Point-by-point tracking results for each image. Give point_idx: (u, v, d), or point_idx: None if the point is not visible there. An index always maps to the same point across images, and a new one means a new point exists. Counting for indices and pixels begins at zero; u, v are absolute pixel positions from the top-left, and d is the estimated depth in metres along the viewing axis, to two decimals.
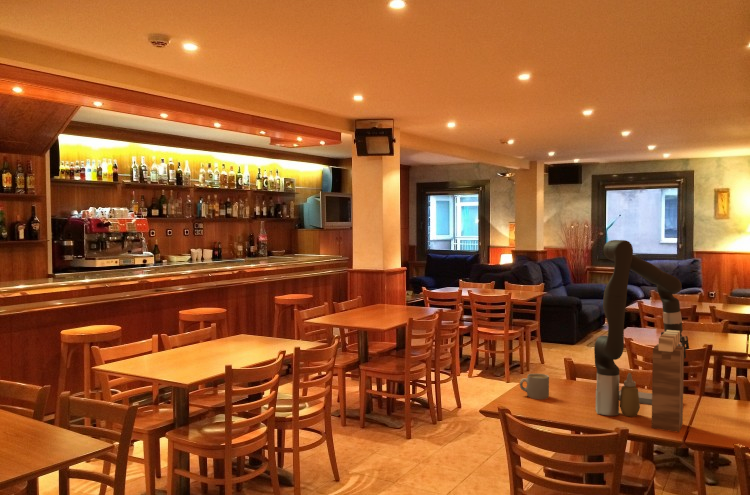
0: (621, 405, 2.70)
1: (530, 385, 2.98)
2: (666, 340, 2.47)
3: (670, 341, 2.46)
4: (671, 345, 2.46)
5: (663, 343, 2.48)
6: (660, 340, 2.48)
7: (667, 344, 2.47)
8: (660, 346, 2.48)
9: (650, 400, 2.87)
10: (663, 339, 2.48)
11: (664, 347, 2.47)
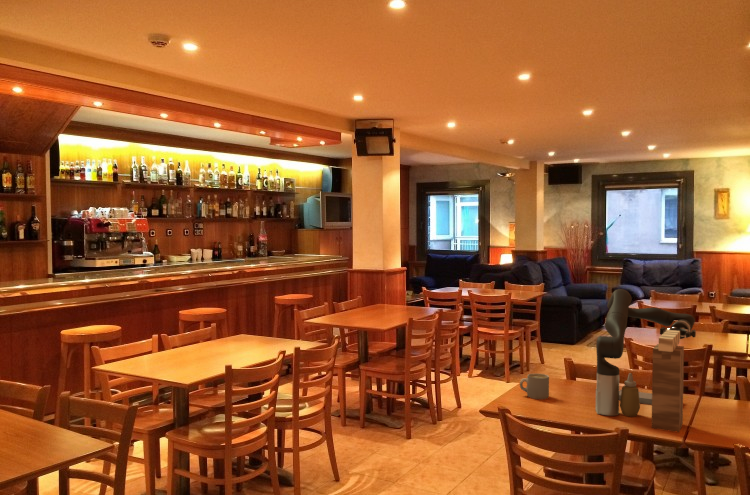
0: (621, 405, 2.70)
1: (530, 385, 2.98)
2: (666, 340, 2.47)
3: (670, 341, 2.46)
4: (671, 345, 2.46)
5: (663, 343, 2.48)
6: (660, 340, 2.48)
7: (667, 344, 2.47)
8: (660, 346, 2.48)
9: (650, 400, 2.87)
10: (663, 339, 2.48)
11: (664, 347, 2.47)
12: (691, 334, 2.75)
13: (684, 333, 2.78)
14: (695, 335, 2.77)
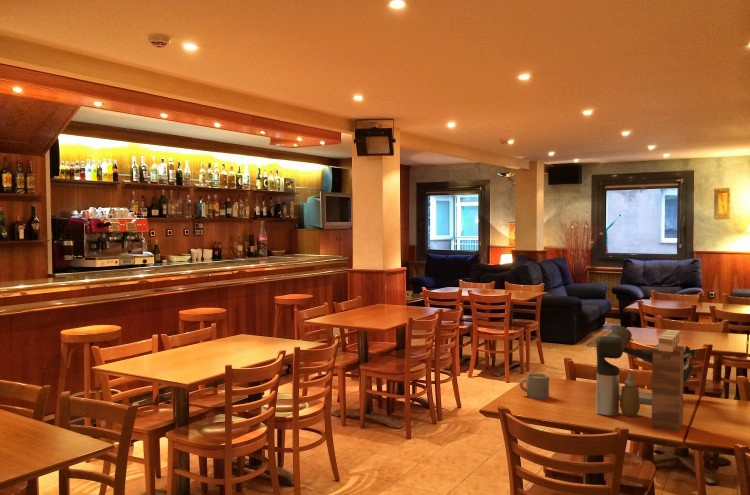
0: (621, 405, 2.70)
1: (530, 385, 2.98)
2: (666, 340, 2.47)
3: (670, 341, 2.46)
4: (671, 345, 2.46)
5: (663, 343, 2.48)
6: (660, 340, 2.48)
7: (667, 344, 2.47)
8: (660, 346, 2.48)
9: (650, 400, 2.87)
10: (663, 339, 2.48)
11: (664, 347, 2.47)
12: (691, 351, 2.75)
13: None
14: (694, 356, 2.76)
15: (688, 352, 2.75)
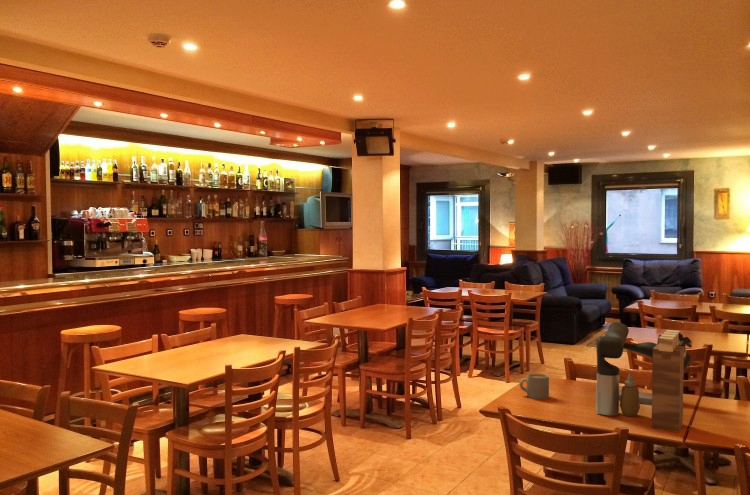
0: (621, 405, 2.70)
1: (530, 385, 2.98)
2: (666, 340, 2.47)
3: (670, 341, 2.46)
4: (671, 345, 2.46)
5: (663, 343, 2.48)
6: (660, 340, 2.48)
7: (667, 344, 2.47)
8: (660, 346, 2.48)
9: (650, 400, 2.87)
10: (663, 339, 2.47)
11: (664, 347, 2.47)
12: (684, 338, 2.65)
13: None
14: (689, 344, 2.66)
15: (681, 339, 2.64)
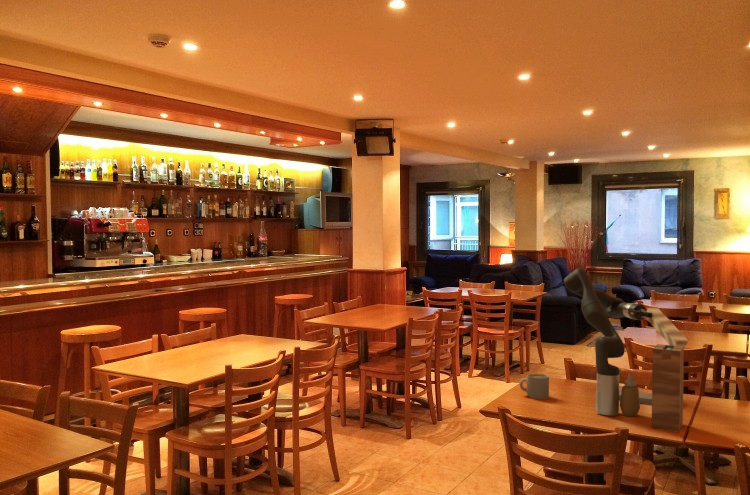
0: (621, 405, 2.70)
1: (530, 385, 2.98)
2: (683, 341, 2.70)
3: (685, 342, 2.70)
4: (685, 345, 2.71)
5: (679, 344, 2.70)
6: (678, 342, 2.69)
7: (682, 344, 2.70)
8: None
9: (650, 400, 2.87)
10: (681, 341, 2.69)
11: None
12: None
13: None
14: None
15: None
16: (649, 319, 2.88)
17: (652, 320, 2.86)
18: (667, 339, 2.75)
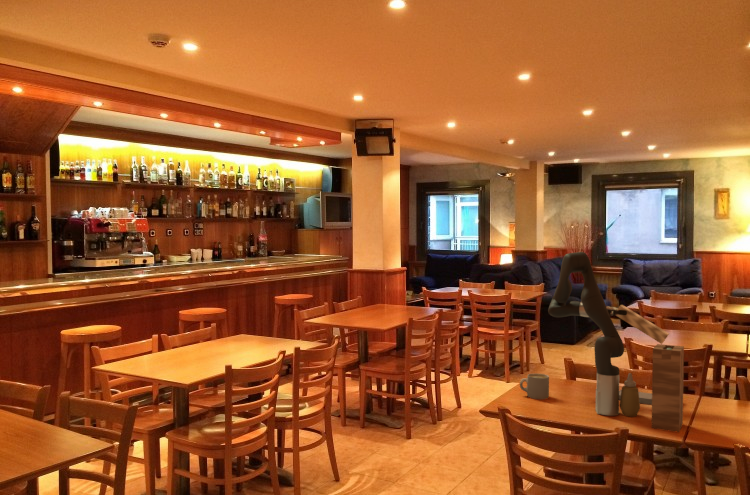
0: (621, 405, 2.70)
1: (530, 385, 2.98)
2: (667, 335, 2.88)
3: None
4: None
5: (665, 338, 2.87)
6: (666, 336, 2.86)
7: None
8: (664, 340, 2.87)
9: (650, 400, 2.87)
10: (667, 335, 2.87)
11: (664, 340, 2.88)
12: None
13: None
14: None
15: None
16: (622, 316, 2.96)
17: (627, 317, 2.94)
18: (651, 334, 2.89)
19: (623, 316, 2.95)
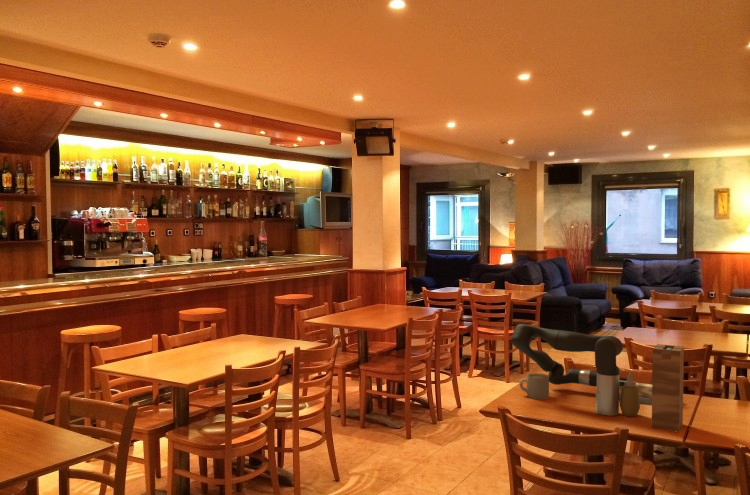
0: (621, 405, 2.70)
1: (530, 385, 2.98)
2: None
3: None
4: None
5: None
6: None
7: None
8: None
9: (650, 400, 2.87)
10: None
11: None
12: None
13: None
14: None
15: (620, 381, 3.03)
16: None
17: None
18: None
19: (621, 390, 2.96)
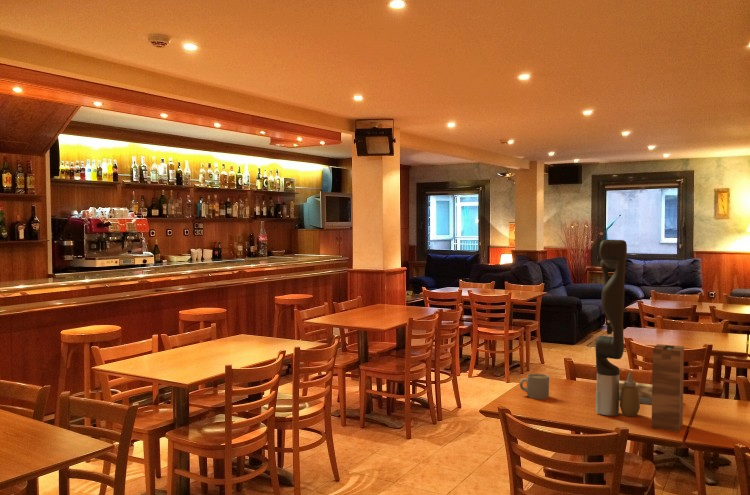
0: (621, 405, 2.70)
1: (530, 385, 2.98)
2: None
3: None
4: None
5: None
6: None
7: None
8: None
9: (650, 400, 2.87)
10: None
11: None
12: None
13: None
14: None
15: None
16: None
17: None
18: None
19: (621, 390, 2.96)
